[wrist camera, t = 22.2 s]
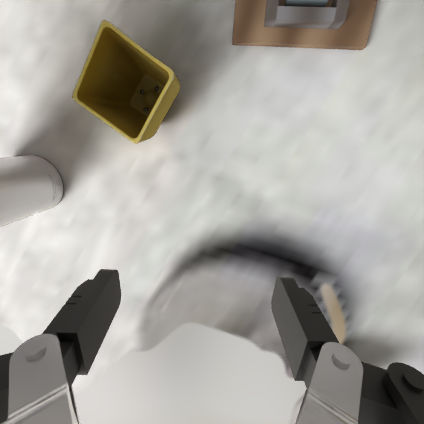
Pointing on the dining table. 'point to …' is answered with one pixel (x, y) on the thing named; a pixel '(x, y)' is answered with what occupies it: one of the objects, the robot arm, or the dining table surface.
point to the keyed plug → (306, 3)
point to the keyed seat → (303, 24)
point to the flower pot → (125, 85)
